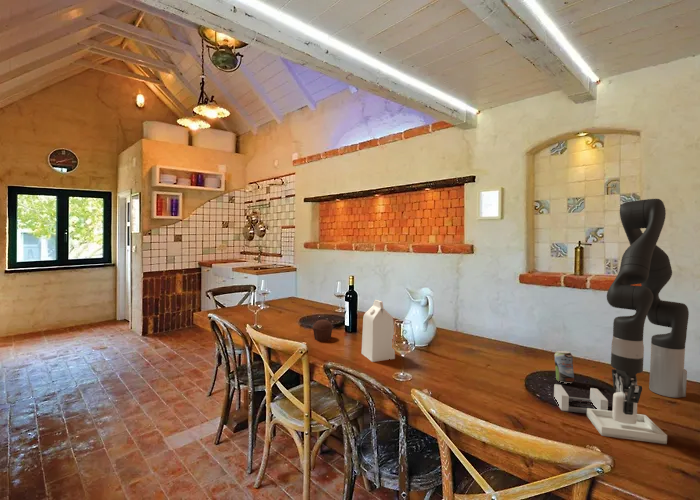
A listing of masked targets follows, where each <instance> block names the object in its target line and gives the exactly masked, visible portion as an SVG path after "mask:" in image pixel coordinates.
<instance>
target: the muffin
mask: <svg viewBox="0 0 700 500" xmlns="http://www.w3.org/2000/svg"><path fill="white" fill-rule="evenodd" d="M333 329H334V325H333V324H332V322H330V321H329V320H327V319H319V320H317V321H315V322H314V323H313V326H312V331H313V338H314V340H315V341H319V342H327V341H330V340H331V338H332V333H333Z"/></svg>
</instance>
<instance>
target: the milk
mask: <svg viewBox="0 0 700 500" xmlns="http://www.w3.org/2000/svg"><path fill="white" fill-rule="evenodd" d="M362 318H363V319H362V334H361V335H362V336H361V355H362V356H364V357H365V358H367V359H368V360H369V361H370V362H372V363H374V362H375V363H376V362H380V361H388V360H389V359H390V360H395V359H396V354H395V352H396V351H395V350H396V349H395V350H394V349H393V348H392V339H393V335H394V336H395V327H394V324H395V323H394V318H393V317H392V315H391V314H390V313H389V312H388V311H387V310H386V309H385V308H384V303H383V301H381V300H378V299H374V300H373V303H372V305H371V307H369V308H368V310H367V311H365V313H364V314H363V317H362Z"/></svg>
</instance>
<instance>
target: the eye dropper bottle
mask: <svg viewBox="0 0 700 500" xmlns="http://www.w3.org/2000/svg"><path fill="white" fill-rule="evenodd" d="M625 390H629V389H625ZM627 395H628V394H627ZM623 401H624V399H623V392H621V385H620V392H616V391H615V392H614V393H613V395H612V410H611V411H612V417H613V419H614V420H615V421H617V422H621V423H626V424H636V422H637V414H638V403H633V414H632V415H628V414H625V413H624V412H623Z"/></svg>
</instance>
